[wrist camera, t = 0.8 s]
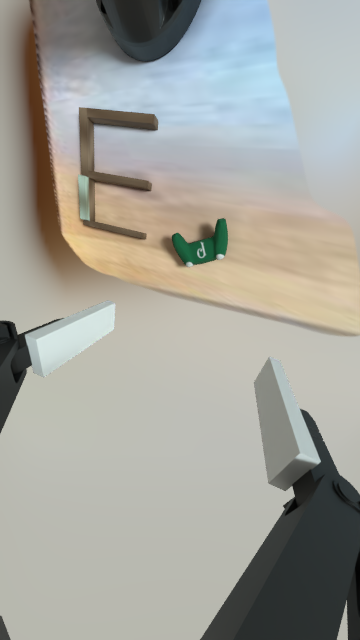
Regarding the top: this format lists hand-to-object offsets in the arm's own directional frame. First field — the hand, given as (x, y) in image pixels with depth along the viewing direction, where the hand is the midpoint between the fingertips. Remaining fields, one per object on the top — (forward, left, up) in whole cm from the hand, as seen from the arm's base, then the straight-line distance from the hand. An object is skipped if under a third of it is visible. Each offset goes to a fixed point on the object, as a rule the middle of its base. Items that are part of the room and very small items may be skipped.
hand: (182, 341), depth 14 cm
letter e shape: (-14, -21, -22) cm, 34 cm away
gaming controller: (-10, -5, -20) cm, 23 cm away
